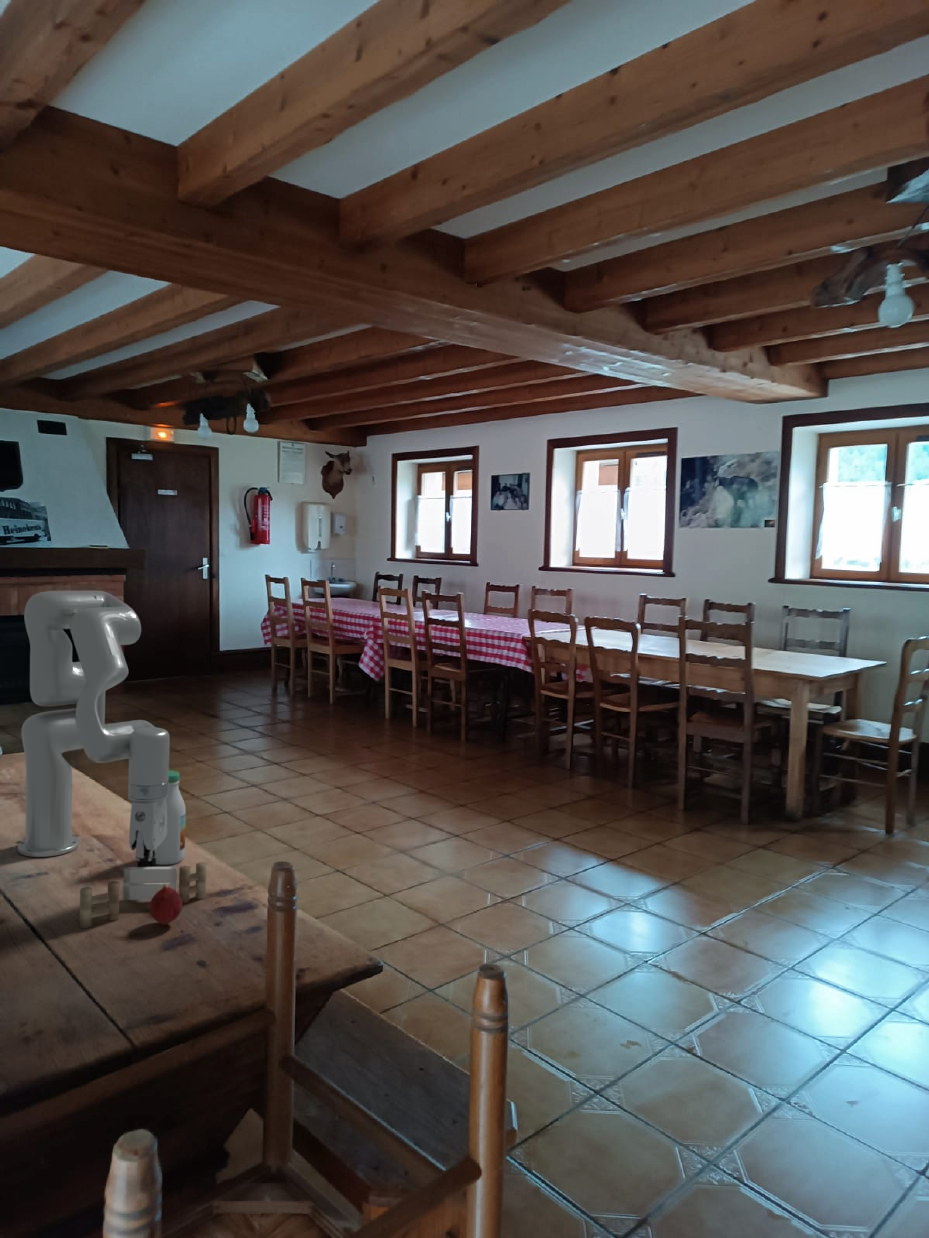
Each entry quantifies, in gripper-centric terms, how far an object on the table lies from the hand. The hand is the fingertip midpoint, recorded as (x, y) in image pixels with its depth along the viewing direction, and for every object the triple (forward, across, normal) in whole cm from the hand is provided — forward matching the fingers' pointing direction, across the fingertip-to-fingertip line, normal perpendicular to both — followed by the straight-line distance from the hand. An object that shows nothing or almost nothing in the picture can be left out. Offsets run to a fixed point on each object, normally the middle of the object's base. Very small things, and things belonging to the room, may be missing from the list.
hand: (146, 877), depth 173 cm
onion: (+4, -12, -8) cm, 15 cm away
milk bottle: (+4, +20, +2) cm, 20 cm away
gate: (+3, -3, -2) cm, 4 cm away
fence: (+4, -7, -2) cm, 8 cm away
